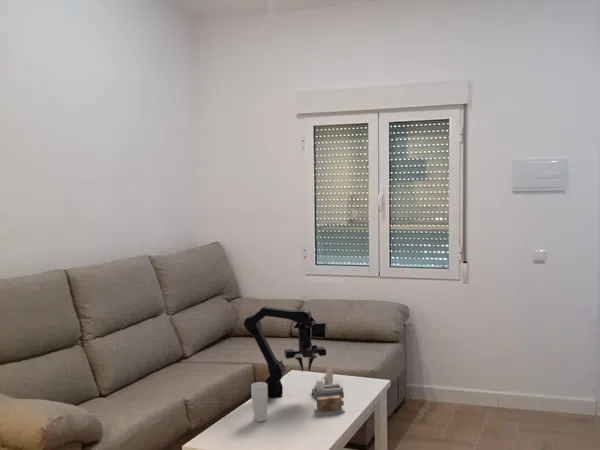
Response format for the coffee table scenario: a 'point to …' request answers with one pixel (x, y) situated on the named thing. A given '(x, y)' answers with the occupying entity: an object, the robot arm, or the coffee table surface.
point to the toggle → (319, 385)
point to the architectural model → (328, 376)
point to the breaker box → (329, 391)
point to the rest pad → (329, 412)
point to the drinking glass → (259, 400)
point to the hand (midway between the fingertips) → (305, 371)
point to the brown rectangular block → (329, 403)
